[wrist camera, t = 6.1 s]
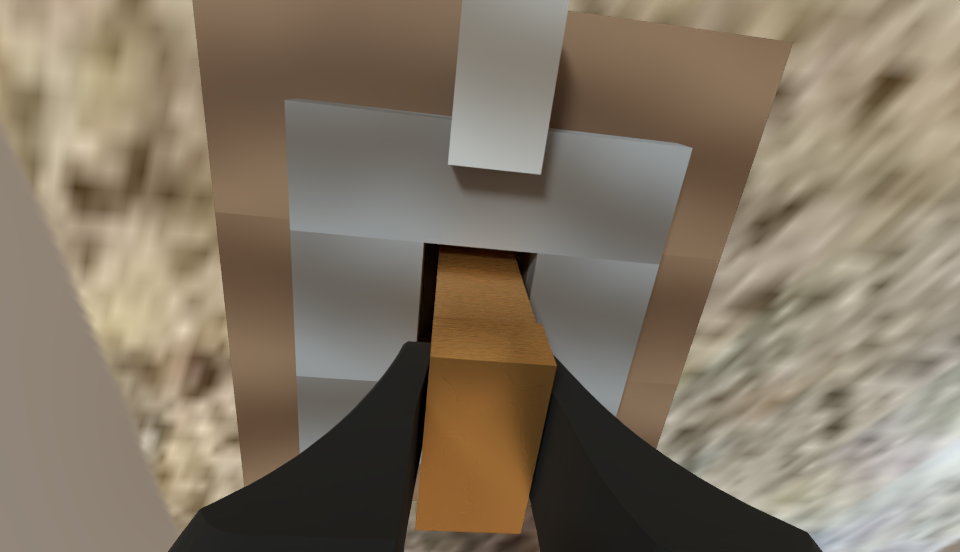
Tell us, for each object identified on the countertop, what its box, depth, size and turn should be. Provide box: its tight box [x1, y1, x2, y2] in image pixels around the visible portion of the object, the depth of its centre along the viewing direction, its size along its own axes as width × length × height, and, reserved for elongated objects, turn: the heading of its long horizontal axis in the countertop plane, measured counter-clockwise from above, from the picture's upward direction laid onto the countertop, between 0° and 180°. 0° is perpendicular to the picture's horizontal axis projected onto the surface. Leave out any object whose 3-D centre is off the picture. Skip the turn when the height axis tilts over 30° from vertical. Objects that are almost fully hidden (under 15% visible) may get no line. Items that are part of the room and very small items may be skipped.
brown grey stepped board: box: [193, 0, 793, 506], centre depth 16 cm, size 18×16×4 cm
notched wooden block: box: [415, 244, 557, 534], centre depth 13 cm, size 5×2×8 cm, turn 173°
